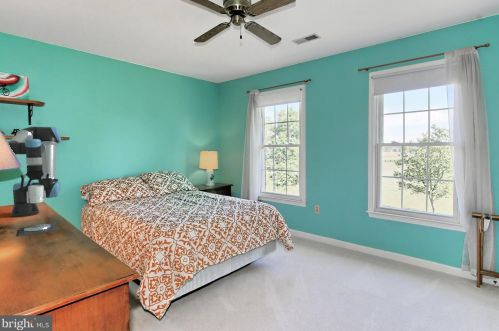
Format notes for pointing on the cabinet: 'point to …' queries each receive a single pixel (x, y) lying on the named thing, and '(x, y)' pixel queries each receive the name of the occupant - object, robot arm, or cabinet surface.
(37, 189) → the white cup
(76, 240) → the cabinet surface
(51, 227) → the duct collar
